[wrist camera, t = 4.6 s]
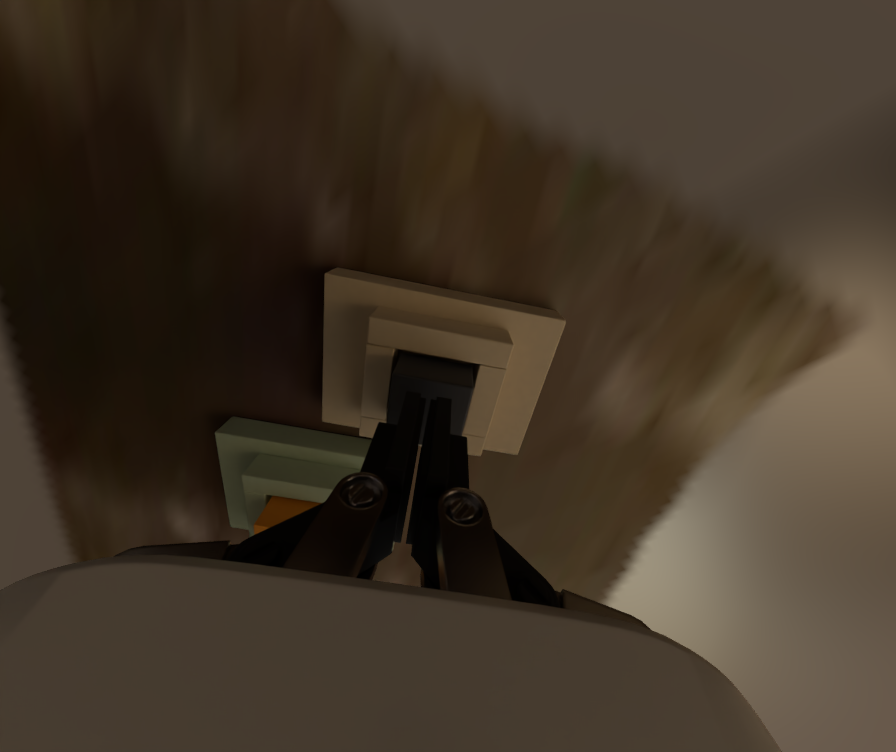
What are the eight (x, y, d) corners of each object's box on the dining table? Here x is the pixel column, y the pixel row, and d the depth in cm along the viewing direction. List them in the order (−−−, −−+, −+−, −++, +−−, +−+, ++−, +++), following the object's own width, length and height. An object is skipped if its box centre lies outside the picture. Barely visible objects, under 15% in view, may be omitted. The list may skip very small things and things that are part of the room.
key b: (330, 501, 19) (316, 535, 17) (329, 538, 20) (315, 572, 18) (274, 492, 19) (252, 525, 17) (276, 530, 20) (257, 564, 18)
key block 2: (557, 310, 16) (579, 334, 13) (513, 436, 20) (523, 479, 17) (337, 266, 16) (306, 281, 13) (332, 405, 19) (307, 442, 16)
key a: (472, 364, 15) (474, 388, 13) (458, 423, 16) (458, 452, 14) (400, 351, 14) (392, 373, 13) (392, 411, 16) (384, 439, 14)
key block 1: (411, 445, 21) (402, 488, 18) (396, 530, 24) (387, 578, 21) (232, 415, 20) (190, 453, 17) (244, 507, 24) (211, 552, 21)
